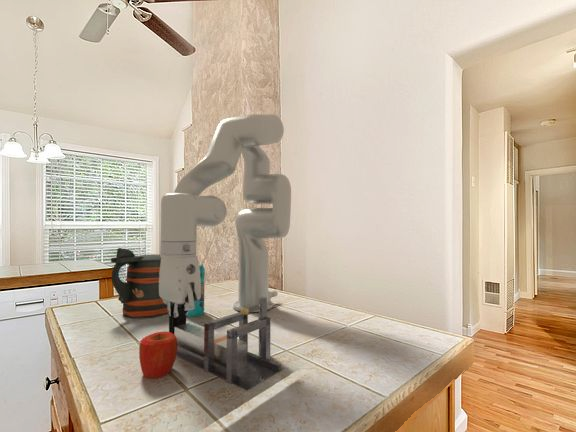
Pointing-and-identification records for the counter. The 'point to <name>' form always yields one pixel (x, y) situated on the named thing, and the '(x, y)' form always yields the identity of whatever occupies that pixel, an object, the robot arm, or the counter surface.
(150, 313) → the beer stein
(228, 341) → the collar
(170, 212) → the robot arm
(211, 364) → the collar
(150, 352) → the apple
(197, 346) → the white box
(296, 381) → the counter surface
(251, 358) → the rail plate
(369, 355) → the counter surface
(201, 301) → the beverage can
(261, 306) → the frame
